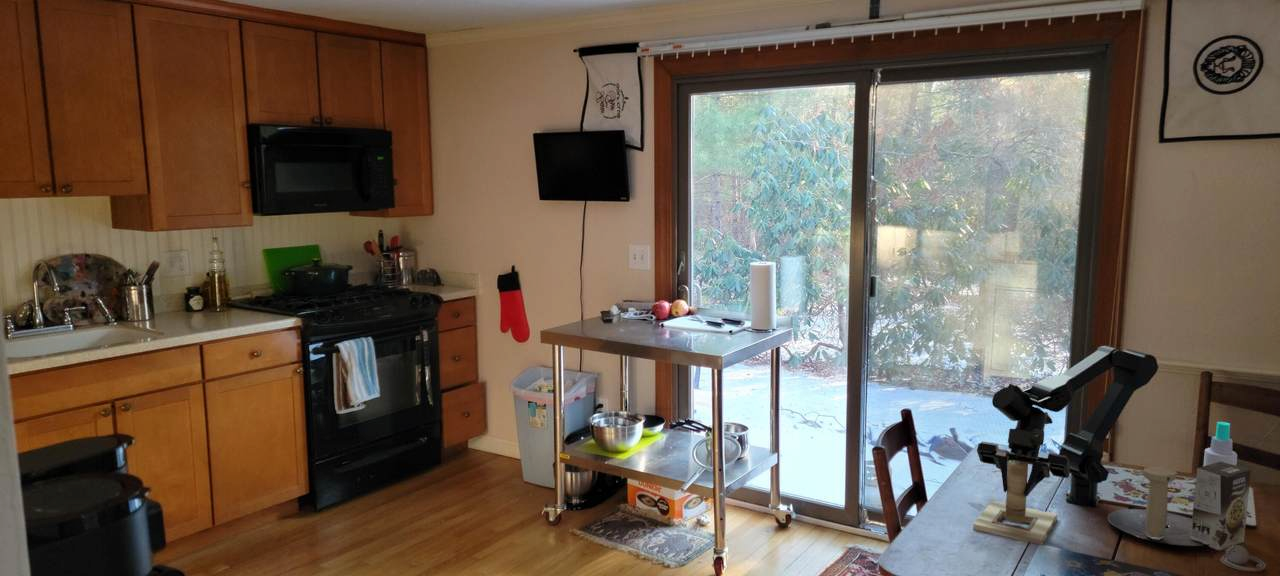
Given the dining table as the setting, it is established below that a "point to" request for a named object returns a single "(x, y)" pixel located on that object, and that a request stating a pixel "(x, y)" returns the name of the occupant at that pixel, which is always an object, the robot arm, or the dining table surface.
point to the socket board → (1034, 533)
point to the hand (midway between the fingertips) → (1015, 493)
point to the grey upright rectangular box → (1220, 504)
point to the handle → (1157, 499)
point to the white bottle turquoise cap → (1221, 447)
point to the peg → (1016, 491)
